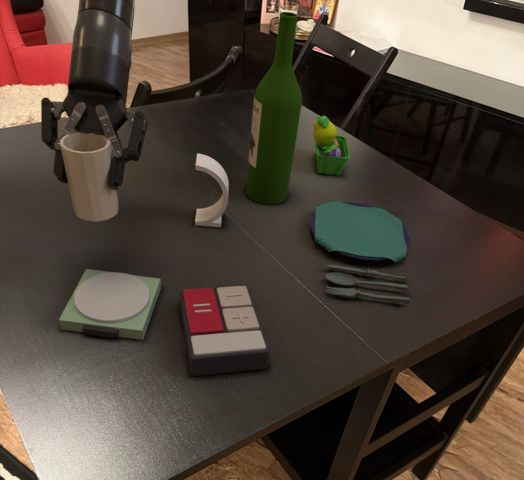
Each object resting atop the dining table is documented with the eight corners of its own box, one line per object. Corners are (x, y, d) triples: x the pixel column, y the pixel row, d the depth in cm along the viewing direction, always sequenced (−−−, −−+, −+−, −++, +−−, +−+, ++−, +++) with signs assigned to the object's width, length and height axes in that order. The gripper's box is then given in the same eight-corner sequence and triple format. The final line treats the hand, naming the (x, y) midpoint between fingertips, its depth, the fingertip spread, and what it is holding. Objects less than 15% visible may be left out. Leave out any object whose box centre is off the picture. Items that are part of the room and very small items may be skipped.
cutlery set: (401, 217, 102) (405, 208, 100) (419, 311, 82) (423, 301, 80) (309, 203, 102) (311, 194, 100) (303, 294, 81) (306, 283, 80)
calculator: (248, 282, 76) (270, 347, 66) (246, 303, 79) (267, 368, 69) (178, 286, 74) (191, 355, 63) (179, 308, 77) (191, 376, 66)
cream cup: (68, 218, 68) (52, 149, 60) (82, 196, 72) (69, 128, 65) (111, 224, 68) (102, 155, 60) (123, 201, 72) (115, 134, 65)
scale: (59, 333, 69) (56, 320, 68) (88, 278, 78) (85, 265, 76) (142, 343, 70) (140, 331, 68) (161, 288, 78) (160, 275, 77)
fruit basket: (345, 179, 111) (357, 130, 103) (307, 174, 111) (317, 125, 102) (340, 156, 119) (352, 109, 111) (305, 152, 118) (314, 104, 110)
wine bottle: (240, 184, 104) (255, 5, 81) (279, 181, 107) (304, 7, 83) (252, 206, 99) (272, 20, 75) (292, 203, 101) (323, 23, 78)
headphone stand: (196, 212, 95) (197, 153, 86) (227, 215, 96) (230, 156, 87) (194, 225, 92) (195, 165, 83) (226, 227, 92) (230, 168, 84)
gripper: (35, 36, 61) (21, 168, 61) (148, 52, 61) (133, 183, 62) (58, 68, 68) (46, 186, 69) (159, 82, 68) (146, 199, 69)
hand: (87, 184), depth 65 cm, fingers closed on cream cup, 6 cm apart
